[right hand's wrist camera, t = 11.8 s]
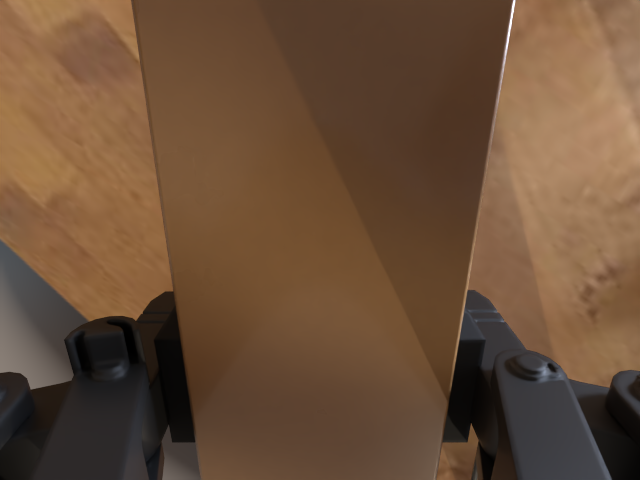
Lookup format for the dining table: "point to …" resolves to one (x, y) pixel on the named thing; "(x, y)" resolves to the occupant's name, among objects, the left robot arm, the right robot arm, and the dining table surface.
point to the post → (321, 220)
